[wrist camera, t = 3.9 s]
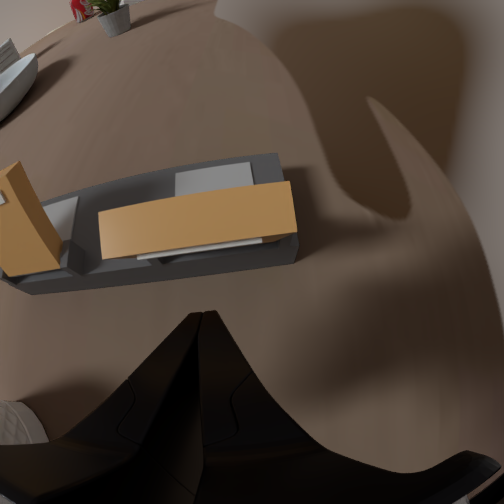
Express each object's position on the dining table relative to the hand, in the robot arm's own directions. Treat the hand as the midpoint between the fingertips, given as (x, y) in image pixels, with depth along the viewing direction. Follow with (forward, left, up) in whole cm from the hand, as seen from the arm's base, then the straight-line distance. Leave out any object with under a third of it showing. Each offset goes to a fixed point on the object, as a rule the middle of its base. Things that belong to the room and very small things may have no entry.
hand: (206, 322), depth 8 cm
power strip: (+11, +8, -9) cm, 16 cm away
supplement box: (+88, +31, -9) cm, 94 cm away
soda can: (+108, +6, -9) cm, 108 cm away
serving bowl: (+57, +25, -9) cm, 63 cm away
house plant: (+64, -4, -9) cm, 64 cm away
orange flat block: (+5, -2, -5) cm, 7 cm away
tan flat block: (+9, +10, -5) cm, 15 cm away
